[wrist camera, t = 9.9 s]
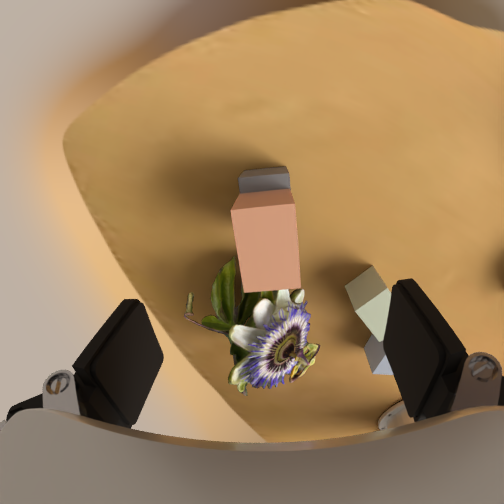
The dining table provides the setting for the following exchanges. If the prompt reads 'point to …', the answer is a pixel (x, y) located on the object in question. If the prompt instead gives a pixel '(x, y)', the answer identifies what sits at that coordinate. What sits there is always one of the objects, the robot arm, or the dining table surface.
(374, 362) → the slate-blue brick
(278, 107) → the dining table surface
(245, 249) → the terracotta brick
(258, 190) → the charcoal brick
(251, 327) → the passion flower
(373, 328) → the sage brick
